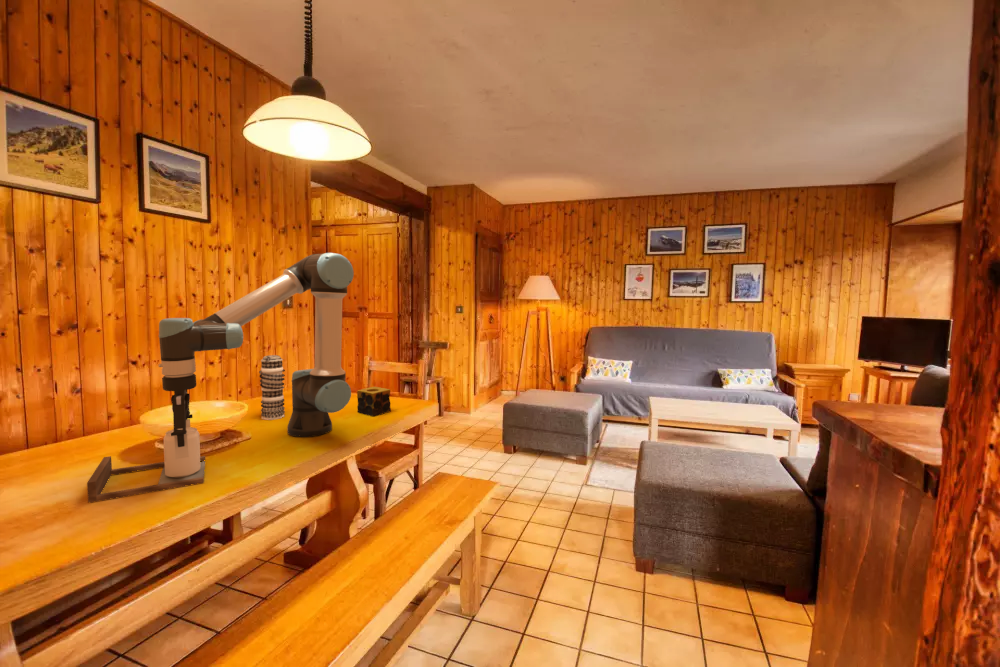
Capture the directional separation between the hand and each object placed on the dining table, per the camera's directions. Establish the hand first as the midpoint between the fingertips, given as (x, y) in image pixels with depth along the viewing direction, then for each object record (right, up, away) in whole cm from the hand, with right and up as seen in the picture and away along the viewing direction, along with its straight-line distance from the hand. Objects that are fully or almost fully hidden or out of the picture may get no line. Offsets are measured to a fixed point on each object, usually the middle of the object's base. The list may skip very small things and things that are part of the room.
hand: (183, 449), depth 122 cm
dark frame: (-6, -7, -3) cm, 10 cm away
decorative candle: (-4, -2, +56) cm, 56 cm away
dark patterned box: (+34, -2, +67) cm, 75 cm away
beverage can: (0, -7, 0) cm, 7 cm away
